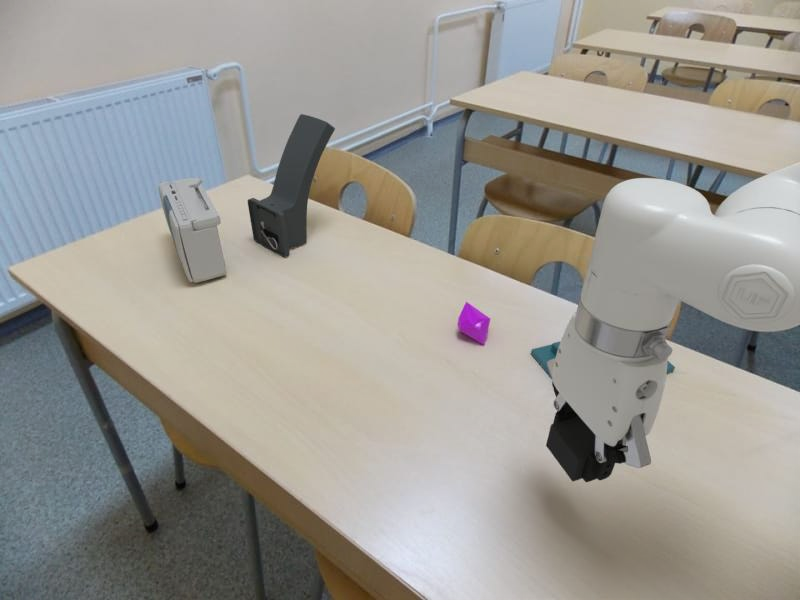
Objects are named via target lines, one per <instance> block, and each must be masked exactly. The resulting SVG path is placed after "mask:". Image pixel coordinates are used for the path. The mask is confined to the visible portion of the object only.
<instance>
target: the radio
mask: <svg viewBox="0 0 800 600" xmlns="http://www.w3.org/2000/svg"><path fill="white" fill-rule="evenodd" d="M203 181H205V178H204V177H201V178H200V179H199V177H189V178H183V179H182V178H181V179H177V180H171V181H165V182H160V183H159V184H158V194H159V198H160V199H159V200H160V202H161V203H160V204H161V207H162V211H163V214H164V217H165V220H166V224H167V228H168V229H169V233H170V235H171V238H172V240H173V245H174V246H175V250H176V252H177V254H178V257H179V260H180V263H181V265H182V268H183V270H184V273H185V276H186V278H187V280H188V281H189V282H190V283H195V284H196V283H197V284H198V283H201V282H205V281H209V280H213V279H216V278H219V277H224V276H226V275H227V267H226V262H225V258H224V253H223V249H222V248H223V247H222V243H221V239H220V233H219V229H218V226H219V225H220V224H222V222H221V221H222V219H221V216H220V214H219V213H218V211H217V208H216V207H215V205H214V204H213V202H212V199H211V197H210V196H209V195H208V193H207V191H206V189H205V188H204V186H203Z"/></svg>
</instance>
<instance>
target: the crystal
mask: <svg viewBox="0 0 800 600" xmlns="http://www.w3.org/2000/svg"><path fill="white" fill-rule="evenodd" d="M490 323H491V318H490V317H489V316H487V315H486V314H484V313H483V312H482V311H480V310H479V309H477V308H476V307H475V306H474V305H472V304H470V302H467V301H465V303H464V305H463V307H462V310H461V312H460V314H459V316H458V319H457V328H458V331H460V332H461V333H463V334H464V335H466V336H468V337H469V338H471V339H473V340H474V341H476V342H478V343H479V344H481V345H483V346H485V345H486V340H487V335H488V331H489V327H490Z"/></svg>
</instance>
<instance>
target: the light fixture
mask: <svg viewBox="0 0 800 600" xmlns="http://www.w3.org/2000/svg"><path fill="white" fill-rule="evenodd" d="M335 130H336V128H335V126H333V125H332V124H330V123H329V122H328V121H325V120H323V119H321V118H317V117H316V116H315V117H314V116H311V115H307V114H302V113H301V114H299V117H298V118H297V119H296V122H295V124H294V126H293V128H292V131H291V132H290V135H289V137H288V139H287V141H286V144H285V146H284V148H283V152H282V154H281V158H280V160H279V163H278V166H277V170H276V173H275V177H274V182H273V186H272V189H271V192H270V194H269V195H268V196H267V197H265V198H262V199H260V200H259V199H257V198H254V197H251V198H249V199H247V207H248V213H249V220H250V225H251V231H252V237H253V241H254V242H256V243H257V244H258V245H261V246H262V247H264V248H266V249H268V250H270V251H271V252H273V253H275V254H277V255H278V256H281V257H283V258H286V257H288V256H290V249H294V248H296V247H299V246H303V245H305V244H307V242H308V232H307V231H308V230H307V229H308V227H307V226H308V222H307V221H308V203H309V196H310V192H311V187H312V185H313V184H312V183H313V179H314V178H315V174H316V171H317V168H318V166H319V162H320V160H321V158H322V155H323V153H324V151H325V149H326V147H327V145H328V143H329V141H330V139H331V138H332V136H333V135H334V134H333V133H334V132H335Z"/></svg>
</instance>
